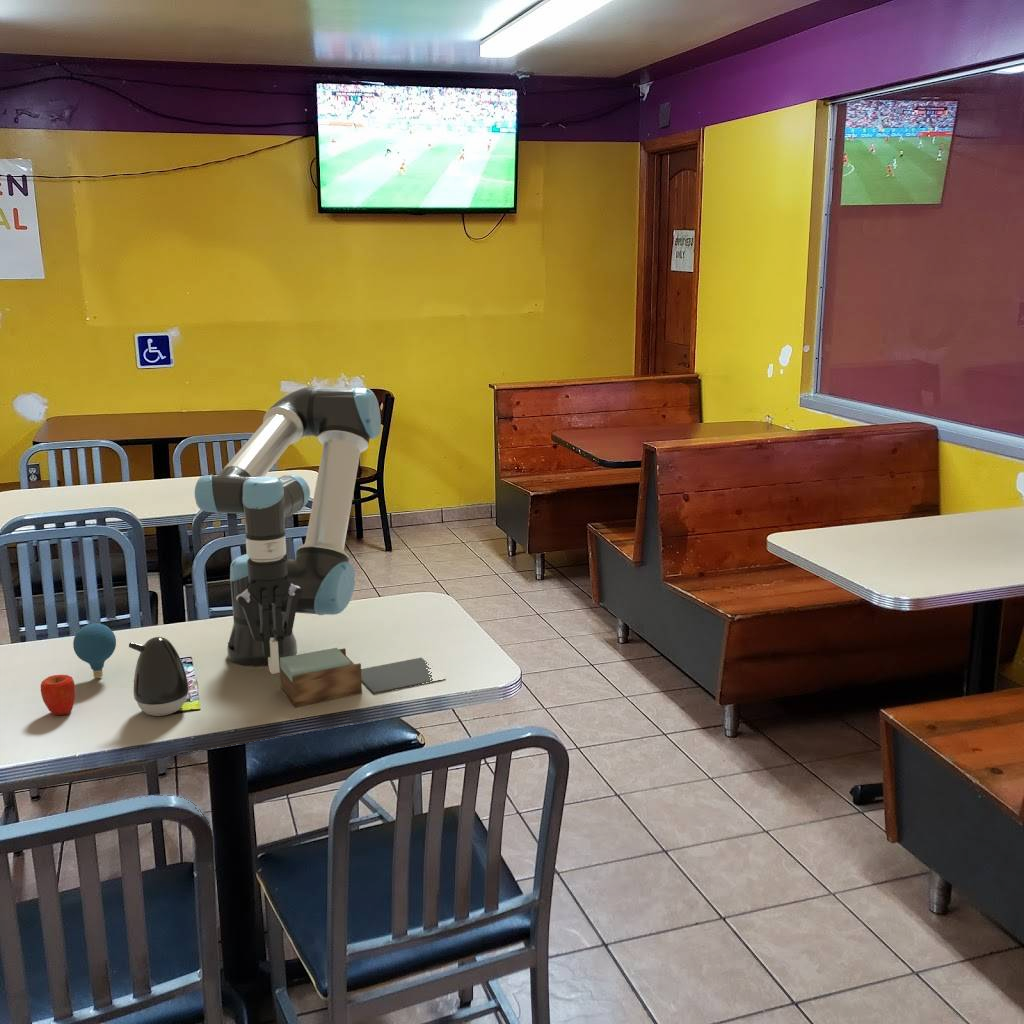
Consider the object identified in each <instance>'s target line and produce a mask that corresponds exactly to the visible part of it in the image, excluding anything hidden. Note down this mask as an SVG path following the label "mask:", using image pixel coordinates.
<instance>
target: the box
mask: <svg viewBox="0 0 1024 1024" xmlns="http://www.w3.org/2000/svg"><path fill="white" fill-rule="evenodd" d="M338 649H339V650H340V651H341V652H342V653H343V654H344V655H345V656H346V657H347V658H348V659H349V660H350V665H348V666H343V667H337V668H332V669H327V670H321V671H316V672H311V673H306V674H300V675H295V676H292V681H293V682H292V681H291V680H290V679H289V678H288V676H287V675H286V674H285V673H284V671H283V670H282V669H281V665H280V660H279V671H280V672H279V679H280V682H279V683H280V690H281V691H282V693H283V694H284V695H285V696H286V698H287V699H288V700H289V702H290V703H291V704H292V706H293V707H294V708H298V707H303V706H308V705H313V704H318V703H322V702H327V701H333V700H338V699H342V698H347V697H352V696H357V695H362V694H363V683H362V678H361V669H362V663H355V662H353V661H352V660H351V659H350V658H349V657H348V656H347V652H346V651H347V649H346V648H338Z"/></svg>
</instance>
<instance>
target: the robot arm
mask: <svg viewBox="0 0 1024 1024" xmlns="http://www.w3.org/2000/svg"><path fill="white" fill-rule="evenodd" d="M381 421H382V419H381V411H380V405H379V401H378V399H377V397H376V395H375V393H374V392H373V390H371V389H369V388H366V387H363V388H362V387H356V386H352V387H338V386H337V387H335V386H326V387H325V386H307V387H302V388H300V389H297V390H295V391H292V392H291V393H289V394H287V395H285V396H283V397H282V398H280V399H279V400H277V401H276V402H275V403H274V404H273V405H272V406H271V407H269V409H268V410H266V412H265V413H264V415H263V420H262V424H261V425H260V426H259V427H258V428H257V430H256V431H254V433H253V434H252V435H251V437H250V438H248V440H247V441H246V442H245V444H244V445H242V446H241V448H240V449H239V450H238V451H237V453H236V454H235V455H234V456H233V457H232V459H230V461H229V462H228V463H227V464H226V465H225V466H224V468H223V469H222V470H221V471H220V472H219V474H217V475H215V474H210V475H208V474H207V475H203V476H200V477H199V478H198V479H197V481H196V484H195V488H194V499H195V504H196V505H197V507H198V509H199V510H201V511H202V512H209V513H216V514H243V515H244V526H245V527H244V528H245V548H246V553H245V554H241V555H240V556H237V557H236V558H235V559H233V560H232V562H231V563H230V569H229V571H230V572H229V582H230V590H231V604H232V605H231V606H232V615H233V618H232V619H233V624H232V628H231V631H230V637H229V639H228V643H227V649H226V650H227V658H228V660H229V661H231V662H232V663H234V664H238V665H241V666H242V665H243V666H252V667H253V666H268V670H269V672H270V673H271V674H273V675H274V674H278V673H279V674H280V666H279V660H280V658H282V657H288V656H293V655H297V652H298V648H297V647H298V646H297V645H298V644H297V639H296V636H295V634H294V632H293V629H294V628H293V627H294V624H295V623H294V622H295V617H296V614H307V615H308V614H309V615H318V616H325V615H326V616H327V615H328V616H329V615H331V616H333V615H339V614H341V613H342V612H343V611H344V610H345V609H346V608H347V607H348V605H349V604H350V602H351V599H352V597H353V593H354V590H355V586H356V579H355V577H356V571H355V567H354V566H353V564H352V563H350V562H349V561H350V556H349V555H348V554H347V552H346V551H345V545H346V538H347V531H348V527H349V521H350V515H351V509H352V503H353V499H354V492H355V487H356V486H355V485H356V480H357V474H358V469H359V462H360V456H361V453H363V452H365V451H366V450H367V449H369V445H370V443H369V442H370V439H371V440H374V439H377V438H378V437H379V435H380V433H381V427H382V424H381V423H382V422H381ZM306 437H317V440H318V442H319V443H320V445H321V446H322V450H321V456H320V462H319V467H318V473H317V479H316V482H315V488H314V494H313V498H312V499H313V500H312V505H311V511H310V515H309V516H310V517H309V521H308V525H307V532H306V537H305V542H304V543H303V544H302V545H300V546H299V547H297V549H296V553H295V558H294V559H291V558H290V559H289V558H287V556H286V555H287V541H286V521H285V520H286V518H288V517H290V516H292V515H294V514H296V513H298V512H300V511H301V510H302V509H303V508H304V507H305V506H306V505H307V504H308V502H309V501H310V497H311V489H310V487H309V484H308V483H307V481H306V480H305V479H304V478H303V477H302V476H300V475H298V474H286V475H282V476H281V477H277V476H269V475H268V476H266V475H267V474H268V473H269V471H270V470H271V469H272V468H273V466H274V465H275V464H276V463H277V461H278V460H279V459H280V457H282V455H283V454H284V453H285V451H286V450H287V449H288V448H289V446H290V445H293V444H296V443H298V441H300V440H301V438H306Z"/></svg>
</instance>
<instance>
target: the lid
mask: <svg viewBox="0 0 1024 1024" xmlns="http://www.w3.org/2000/svg"><path fill="white" fill-rule="evenodd" d="M339 649H340V648H338V647H333V648H328V649H322V650H317V651H312V652H311V651H309V652H305V653H299V654H295V655H293V656H288V657H282V658H280V665H281V669H282V670H283V671H284V673H285V674H286V675H287V676H288V678H289V679H290V680H291V681H292V676H295V675H300V674H306V673H311V672H316V671H321V670H327V669H332V668H337V667H343V666H348V665H350V660H351V659H350V658H349V657H348V656H347V655H346V656H347V657H348V658H349V659H350V660H349V659H348V658H347V657H346V656H345V655H344V654H343V653H342V652H341V651H340V650H339ZM292 682H293V681H292Z"/></svg>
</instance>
